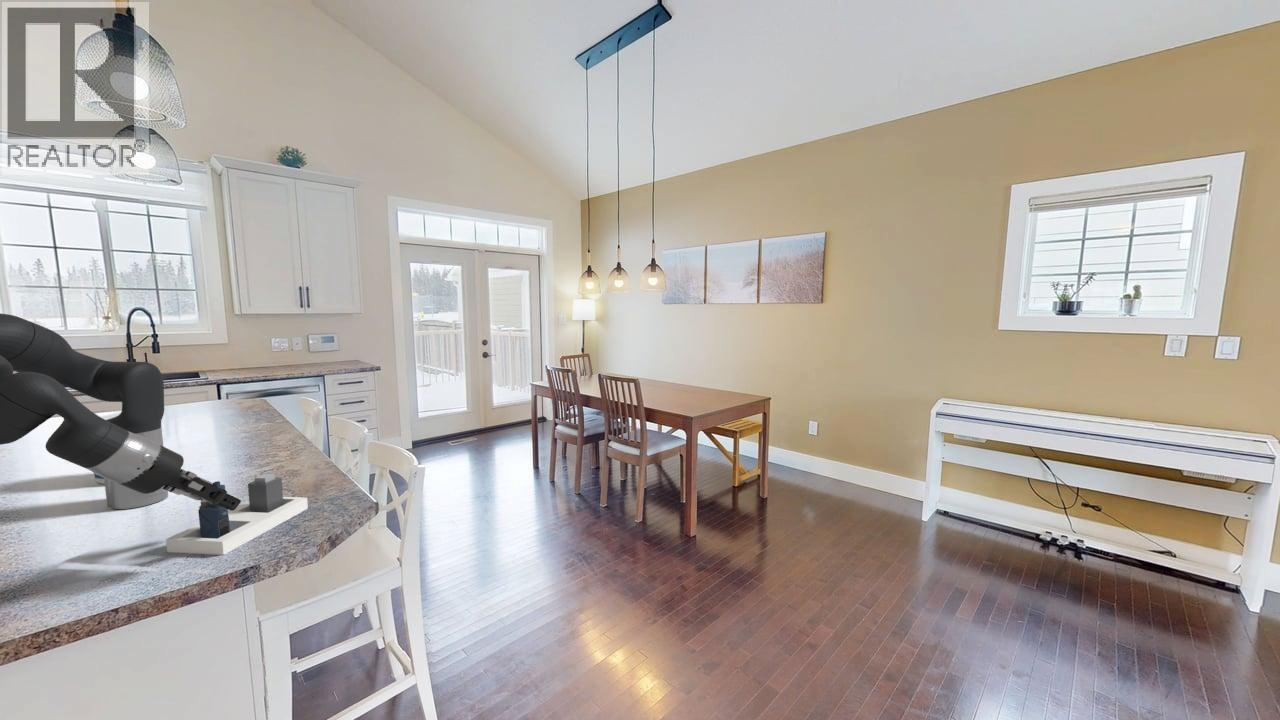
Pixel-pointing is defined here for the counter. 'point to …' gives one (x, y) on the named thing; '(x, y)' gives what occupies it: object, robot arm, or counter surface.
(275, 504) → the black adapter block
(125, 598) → the counter surface
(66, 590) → the counter surface
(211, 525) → the vaping device
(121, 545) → the counter surface
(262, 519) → the dock
